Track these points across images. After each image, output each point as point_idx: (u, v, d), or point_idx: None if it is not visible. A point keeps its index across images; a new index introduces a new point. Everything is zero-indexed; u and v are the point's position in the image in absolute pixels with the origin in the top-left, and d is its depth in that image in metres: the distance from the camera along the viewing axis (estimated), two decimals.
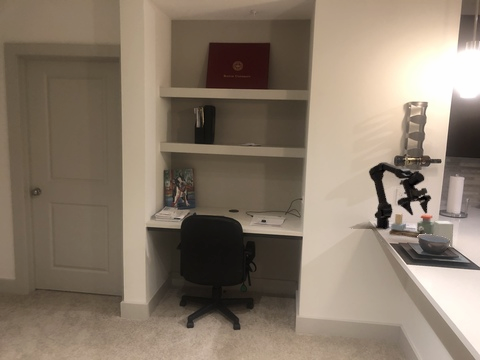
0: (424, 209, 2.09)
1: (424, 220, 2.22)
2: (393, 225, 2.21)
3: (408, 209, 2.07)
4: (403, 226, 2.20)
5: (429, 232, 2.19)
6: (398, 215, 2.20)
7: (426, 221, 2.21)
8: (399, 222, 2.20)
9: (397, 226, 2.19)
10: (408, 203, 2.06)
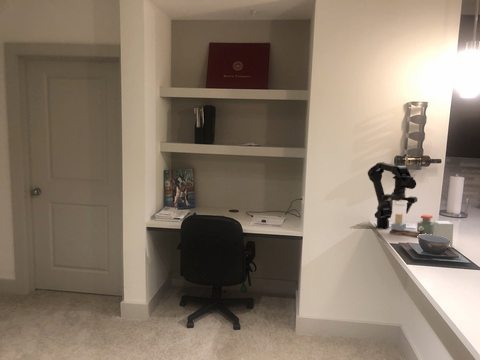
0: None
1: (424, 220, 2.22)
2: (393, 225, 2.21)
3: None
4: (403, 226, 2.20)
5: (429, 232, 2.19)
6: (398, 215, 2.20)
7: (426, 221, 2.21)
8: (399, 222, 2.20)
9: (397, 226, 2.19)
10: (387, 201, 2.23)
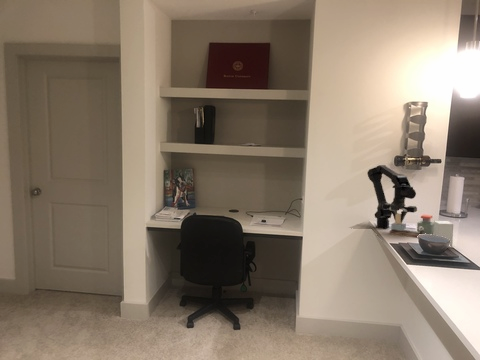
0: None
1: (424, 220, 2.22)
2: (393, 225, 2.21)
3: None
4: (403, 226, 2.20)
5: (429, 232, 2.19)
6: (398, 215, 2.20)
7: (426, 221, 2.21)
8: (399, 222, 2.20)
9: (397, 226, 2.19)
10: (391, 211, 2.22)
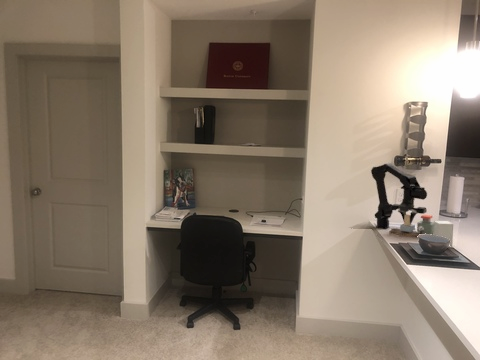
0: None
1: (424, 220, 2.22)
2: (402, 226, 2.17)
3: None
4: (412, 227, 2.16)
5: (429, 232, 2.19)
6: (407, 216, 2.17)
7: (426, 221, 2.21)
8: (408, 223, 2.17)
9: (406, 228, 2.16)
10: (400, 212, 2.18)
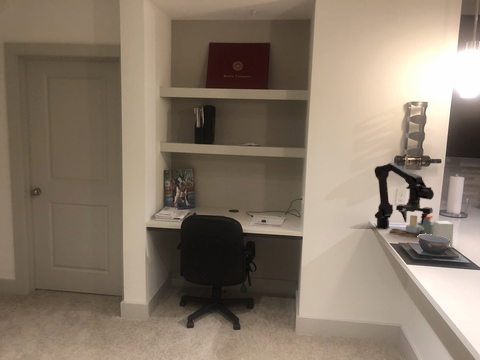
0: None
1: (424, 220, 2.22)
2: (408, 227, 2.15)
3: None
4: (418, 228, 2.14)
5: (429, 232, 2.19)
6: (413, 217, 2.14)
7: (426, 221, 2.21)
8: (414, 224, 2.14)
9: (412, 229, 2.13)
10: (401, 212, 2.18)
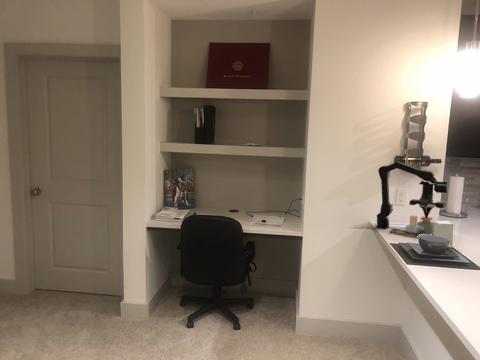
0: None
1: (424, 222, 2.22)
2: (408, 227, 2.15)
3: None
4: (418, 228, 2.14)
5: (429, 232, 2.19)
6: (413, 217, 2.14)
7: (426, 223, 2.21)
8: (414, 224, 2.14)
9: (412, 229, 2.13)
10: (422, 207, 2.21)
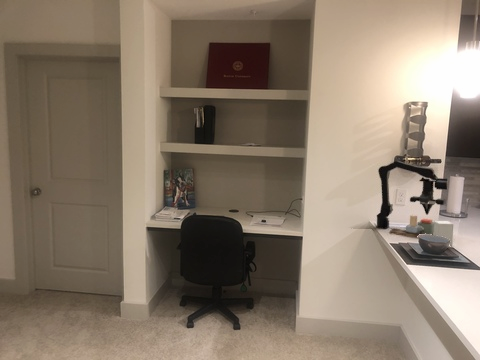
0: None
1: None
2: (408, 227, 2.15)
3: None
4: (418, 228, 2.14)
5: (429, 232, 2.19)
6: (413, 217, 2.14)
7: None
8: (414, 224, 2.14)
9: (412, 229, 2.13)
10: (422, 204, 2.21)
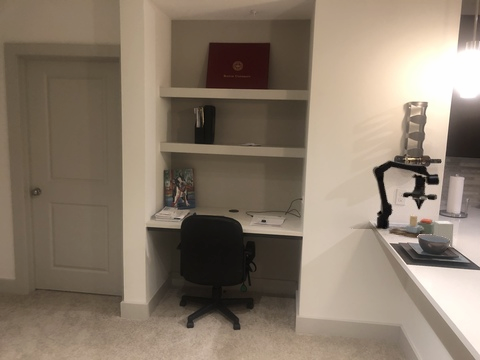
0: None
1: None
2: (408, 227, 2.15)
3: None
4: (418, 228, 2.14)
5: (429, 232, 2.19)
6: (413, 217, 2.14)
7: None
8: (414, 224, 2.14)
9: (412, 229, 2.13)
10: (414, 199, 2.31)
